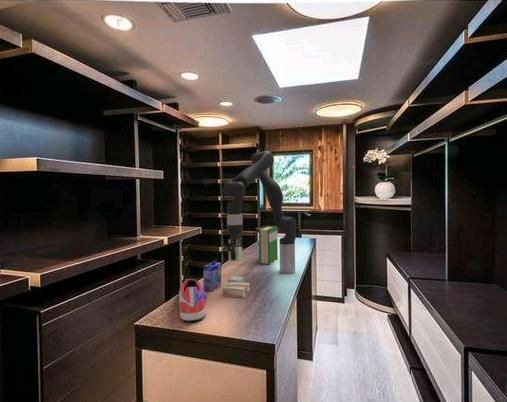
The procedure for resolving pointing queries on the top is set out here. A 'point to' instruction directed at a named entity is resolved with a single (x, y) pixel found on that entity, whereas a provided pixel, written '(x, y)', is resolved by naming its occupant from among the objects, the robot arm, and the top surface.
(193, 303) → the soccer shoe
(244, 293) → the maple block
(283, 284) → the top surface
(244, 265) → the top surface
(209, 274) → the ink cartridge box
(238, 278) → the grey block
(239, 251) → the sage block
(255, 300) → the top surface
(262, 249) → the hardback book
